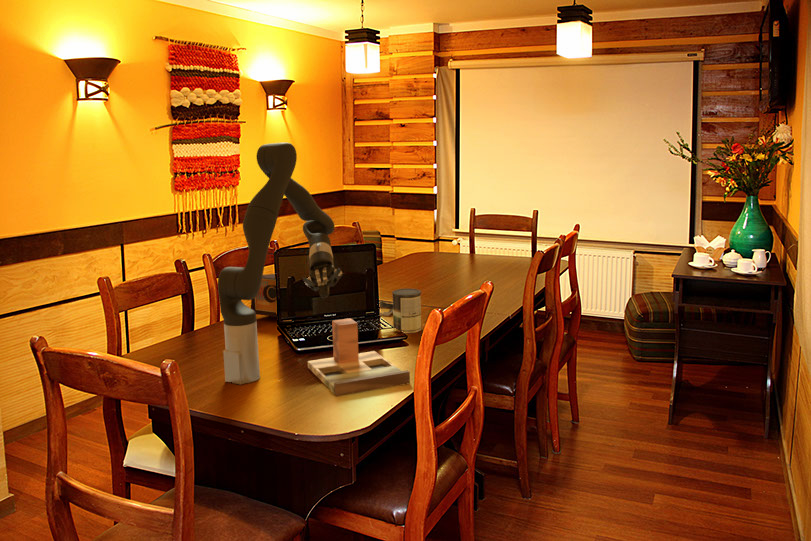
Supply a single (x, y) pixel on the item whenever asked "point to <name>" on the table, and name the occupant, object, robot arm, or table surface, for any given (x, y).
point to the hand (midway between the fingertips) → (324, 296)
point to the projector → (266, 296)
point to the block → (345, 340)
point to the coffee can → (407, 310)
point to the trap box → (358, 374)
